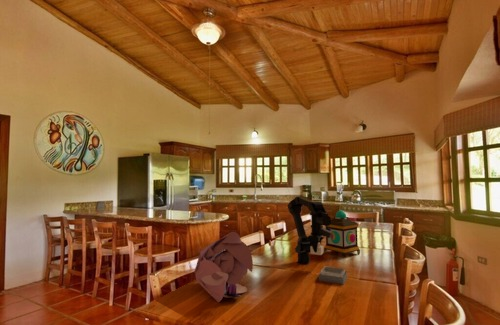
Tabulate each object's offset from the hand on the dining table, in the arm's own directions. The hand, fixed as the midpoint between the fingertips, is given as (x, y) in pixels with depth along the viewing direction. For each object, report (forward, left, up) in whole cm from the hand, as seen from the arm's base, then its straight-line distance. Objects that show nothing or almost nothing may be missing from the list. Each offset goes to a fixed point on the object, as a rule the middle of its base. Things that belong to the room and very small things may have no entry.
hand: (317, 251), depth 159 cm
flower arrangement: (-31, -50, -11) cm, 60 cm away
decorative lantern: (+7, +43, -11) cm, 45 cm away
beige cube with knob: (0, 0, -1) cm, 1 cm away
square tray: (+11, -12, -10) cm, 19 cm away
